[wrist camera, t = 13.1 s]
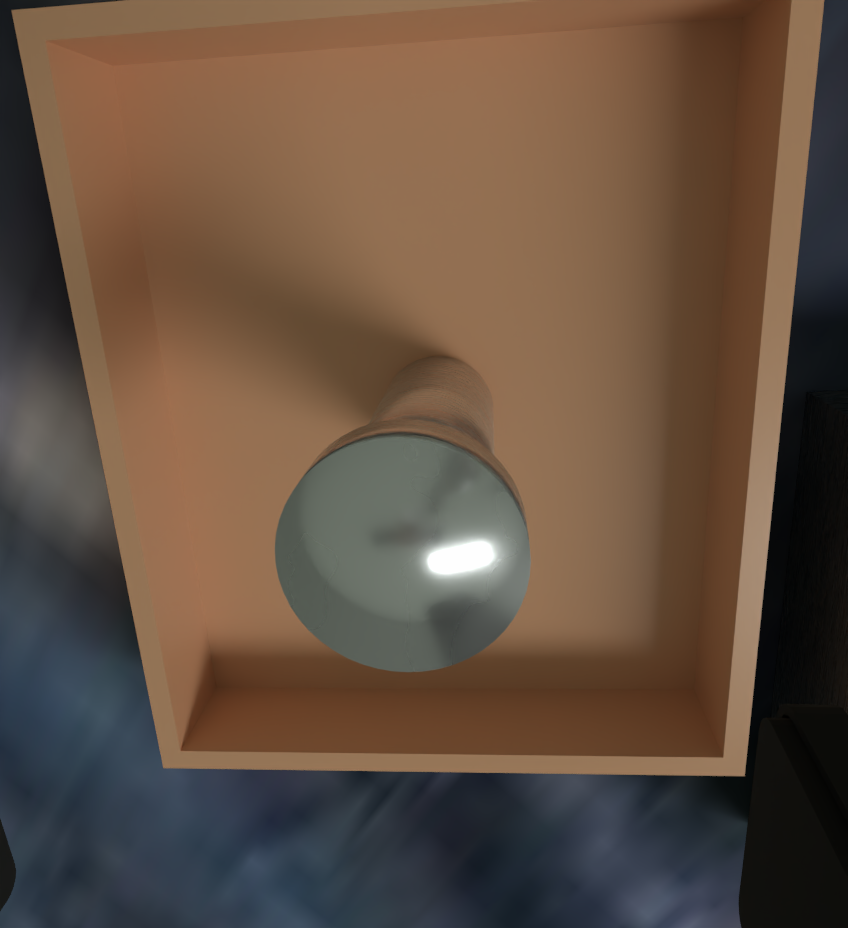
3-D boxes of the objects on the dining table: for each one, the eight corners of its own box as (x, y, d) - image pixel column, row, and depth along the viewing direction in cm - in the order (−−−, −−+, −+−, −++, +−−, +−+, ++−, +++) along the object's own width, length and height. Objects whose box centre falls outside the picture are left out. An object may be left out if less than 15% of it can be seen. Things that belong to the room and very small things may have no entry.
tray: (99, 46, 25) (11, 10, 21) (761, -7, 23) (830, -61, 19) (209, 689, 34) (163, 768, 29) (706, 691, 32) (744, 776, 27)
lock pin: (360, 339, 27) (260, 442, 15) (511, 333, 26) (530, 435, 15) (371, 480, 29) (288, 671, 17) (513, 477, 28) (531, 672, 16)
